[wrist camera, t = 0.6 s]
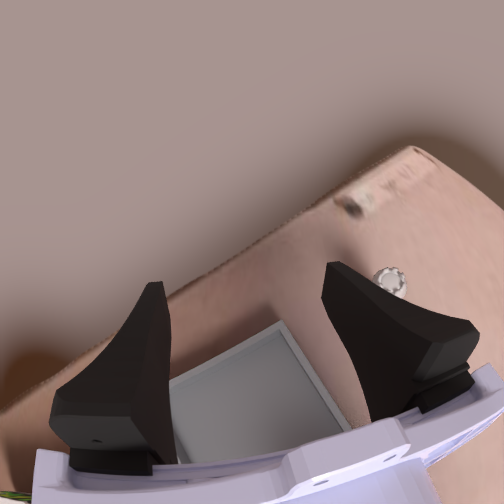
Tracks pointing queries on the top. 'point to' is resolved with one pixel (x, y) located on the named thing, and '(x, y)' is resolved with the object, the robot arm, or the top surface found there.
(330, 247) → the top surface
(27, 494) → the sign
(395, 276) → the rook chess piece
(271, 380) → the box
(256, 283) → the top surface
